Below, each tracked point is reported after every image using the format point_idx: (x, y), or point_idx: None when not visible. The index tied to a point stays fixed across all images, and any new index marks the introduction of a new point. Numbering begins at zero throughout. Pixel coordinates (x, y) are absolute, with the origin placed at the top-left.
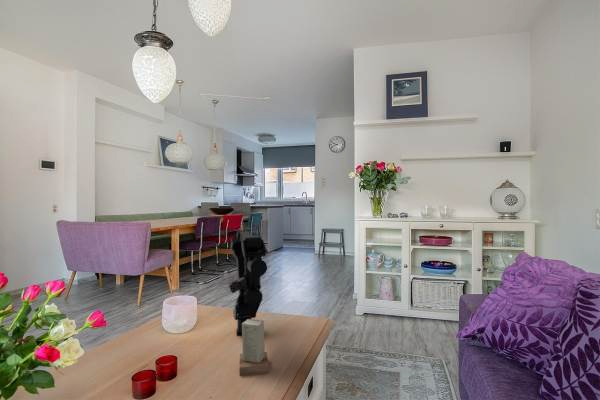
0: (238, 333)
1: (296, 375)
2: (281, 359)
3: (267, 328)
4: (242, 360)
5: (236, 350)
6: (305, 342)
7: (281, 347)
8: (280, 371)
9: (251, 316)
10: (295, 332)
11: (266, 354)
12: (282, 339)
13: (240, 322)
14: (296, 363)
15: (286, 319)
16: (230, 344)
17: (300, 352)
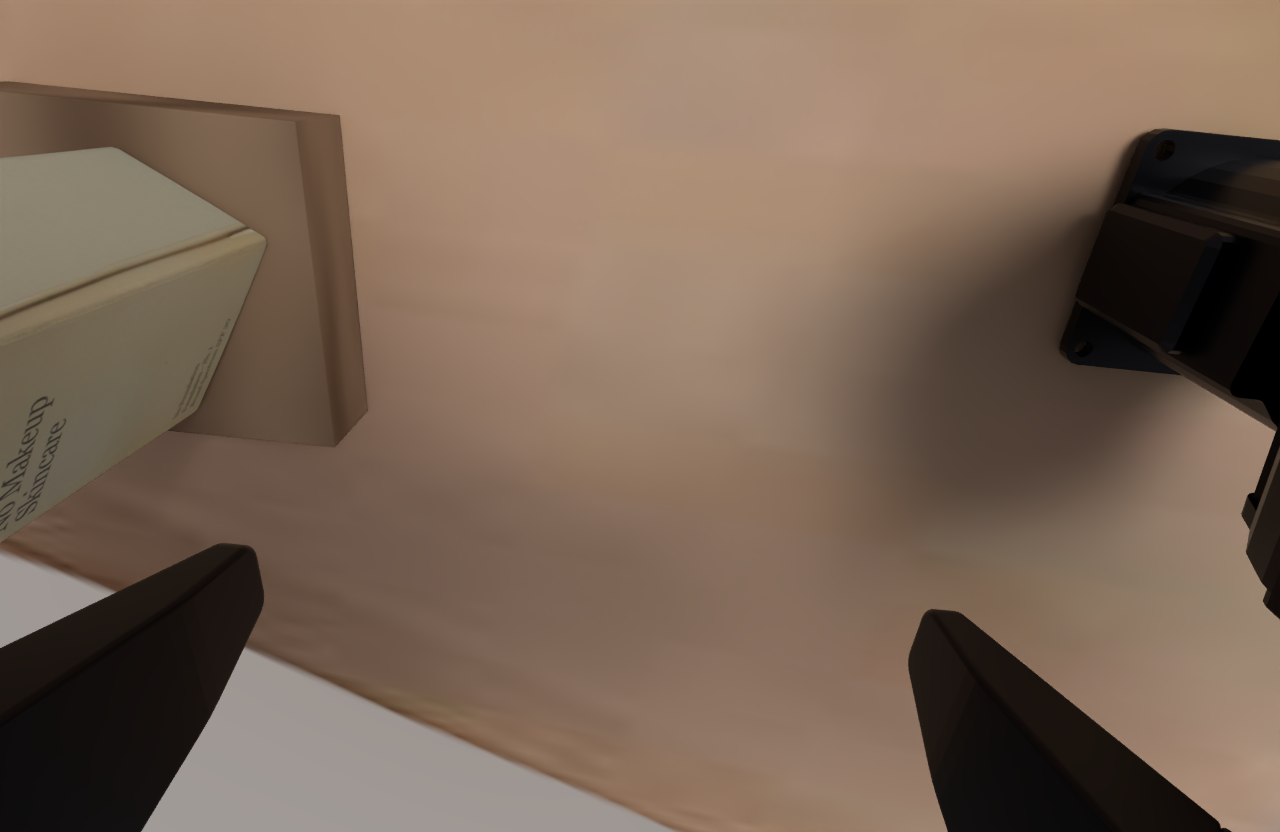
0: (1175, 166)
1: (76, 574)
2: (350, 529)
3: (1145, 542)
4: (107, 140)
5: (654, 92)
6: (642, 755)
7: (596, 576)
8: (130, 480)
9: (179, 565)
10: (886, 741)
11: (269, 435)
12: (774, 618)
13: (1271, 233)
14: (270, 616)
15: (1268, 748)
16: (880, 10)
17: (462, 683)
